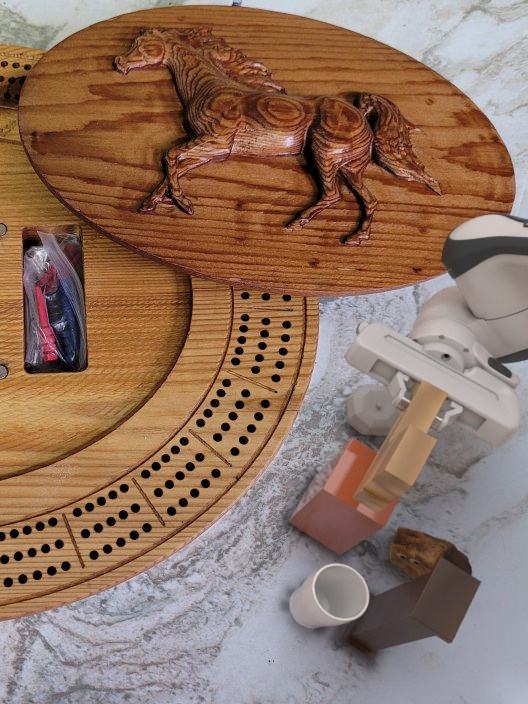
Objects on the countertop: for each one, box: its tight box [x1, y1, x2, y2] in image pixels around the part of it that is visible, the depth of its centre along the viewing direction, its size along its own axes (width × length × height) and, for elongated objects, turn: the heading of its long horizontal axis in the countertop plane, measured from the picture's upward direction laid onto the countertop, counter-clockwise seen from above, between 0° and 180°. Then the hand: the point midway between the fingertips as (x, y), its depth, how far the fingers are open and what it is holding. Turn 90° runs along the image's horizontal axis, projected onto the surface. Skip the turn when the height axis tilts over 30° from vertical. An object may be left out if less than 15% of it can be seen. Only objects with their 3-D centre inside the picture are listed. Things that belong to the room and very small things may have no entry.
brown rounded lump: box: [389, 526, 473, 579], centre depth 108 cm, size 12×6×11 cm, turn 54°
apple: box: [345, 384, 401, 436], centre depth 119 cm, size 8×8×7 cm
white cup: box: [288, 563, 370, 630], centre depth 104 cm, size 7×7×15 cm
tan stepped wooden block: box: [353, 380, 448, 513], centre depth 90 cm, size 3×16×10 cm, turn 144°
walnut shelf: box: [338, 557, 482, 662], centre depth 98 cm, size 4×8×26 cm, turn 144°
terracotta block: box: [287, 437, 403, 556], centre depth 108 cm, size 8×8×18 cm
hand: (418, 415), depth 94 cm, fingers closed on tan stepped wooden block, 3 cm apart
